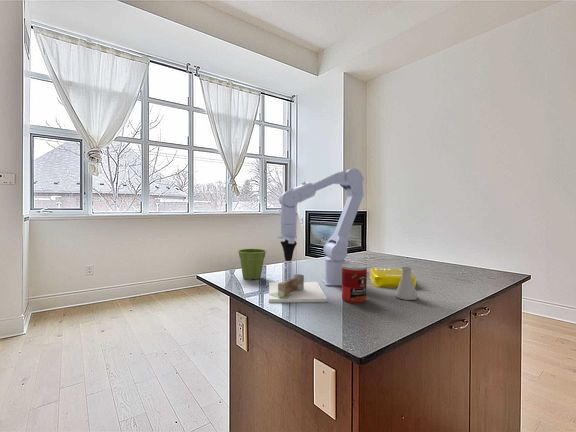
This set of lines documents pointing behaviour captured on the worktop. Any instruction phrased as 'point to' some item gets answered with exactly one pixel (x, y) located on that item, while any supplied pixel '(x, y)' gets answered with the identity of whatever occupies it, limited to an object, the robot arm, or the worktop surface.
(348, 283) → the canned food
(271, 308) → the worktop surface
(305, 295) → the dial plate
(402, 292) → the flask
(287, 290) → the brown bar
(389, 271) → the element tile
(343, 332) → the worktop surface
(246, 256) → the plant pot
